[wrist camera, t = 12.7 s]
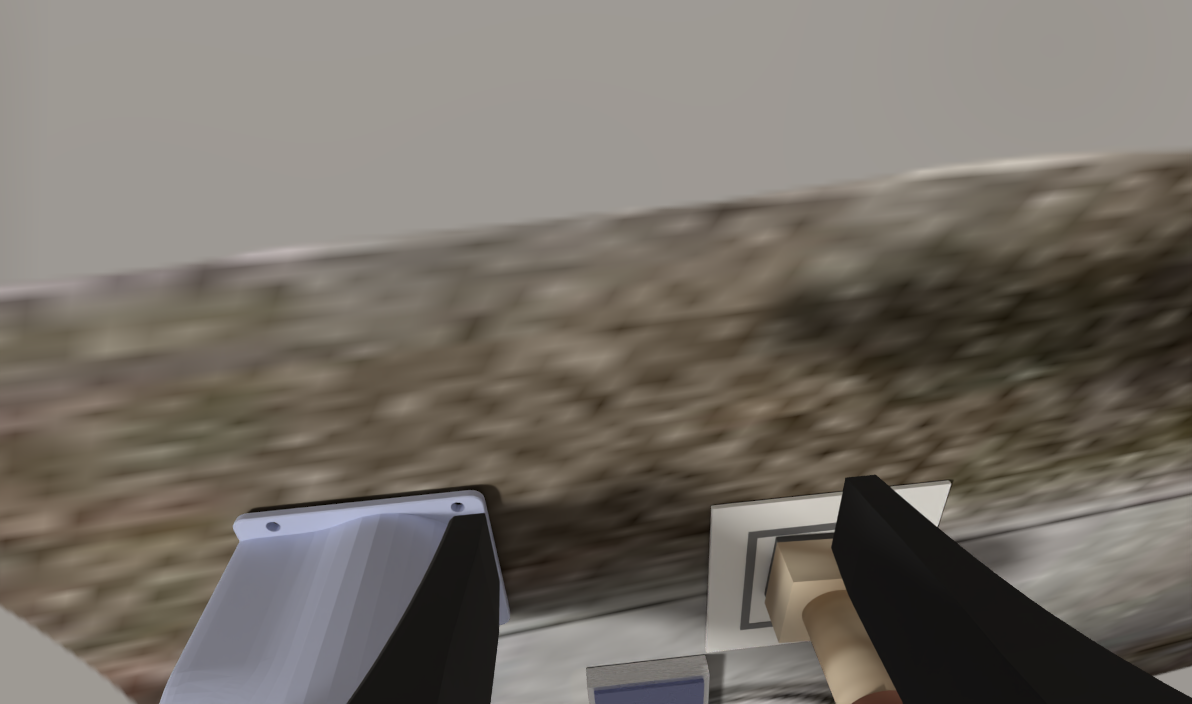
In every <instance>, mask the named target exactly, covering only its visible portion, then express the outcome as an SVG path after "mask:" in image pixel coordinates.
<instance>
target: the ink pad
mask: <svg viewBox="0 0 1192 704" xmlns="http://www.w3.org/2000/svg"><path fill="white" fill-rule="evenodd" d="M586 676H587V689H588V697H589V704H708V698H709V678H710V673H709V669H708V665H707V661H706V657H705V655H700V656H691V657H683V658H674V659H665V660H656V661H647V662H639V663H630V664H621V665H612V666H603V667H594V668H586Z"/></svg>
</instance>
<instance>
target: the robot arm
mask: <svg viewBox="0 0 1192 704" xmlns="http://www.w3.org/2000/svg"><path fill="white" fill-rule="evenodd" d="M456 502H458V503H462V504H461V505H457V504H455V503H456ZM273 522H275V523H278V524H275V523H273ZM233 529H234V531H235V533H236V535H237V537H238V539H239V541H240V542H239V544H238V546H237V548H236V550H235V552H234V554H233V556H232V557H231V559H230V561H229V563H228V565H227V567H226V569H225V571H224V573H223V575H222V577H221V579H220V581H219V583H218V585H217V587H216V588H215V590H214V592H213V594H212V596H211V598H210V600H209V602H208V604H207V606H206V608H205V610H204V612H203V614H202V616H201V617H200V619H199V621H198V623H197V625H196V627H195V629H194V631H193V633H192V635H191V637H190V639H189V641H188V643H187V645H186V646H185V648H184V650H183V652H182V654H181V656H180V658H179V660H178V662H177V664H176V666H175V668H174V670H173V672H172V674H171V676H170V678H169V680H168V682H167V685H166V687H165V689H164V692H163V695H162V698H161V701H160V704H490V702H491V694H492V686H493V678H494V670H495V662H496V654H497V645H498V636H499V625H502V624H505V623H507V622H508V621H509V620H510V608H509V603H508V599H507V595H506V590H505V586H504V581H503V577H502V573H501V568H500V564H499V559H498V555H497V550H496V546H495V542H494V537H493V533H492V528H491V524H490V520H489V515H488V511H487V506H486V502H485V498H484V496H483V494H481V493H480V492H478V491H475V490H465V491H455V492H446V493H436V494H427V495H417V496H408V497H398V498H388V499H379V500H369V501H360V502H350V503H341V504H331V505H322V506H312V507H302V508H293V509H283V510H274V511H264V512H255V513H245V514H242V515H240V516H238V517H237V519H236V521H235V523H234V525H233ZM831 549H832V552H833V554H834V557H835V560H836V563H837V566H838V569H839V572H840V575H841V577H842V580H843V582H844V585H845V588H846V590H847V593H848V596H849V598H850V600H851V602H852V604H853V606H854V608H855V610H856V612H857V614H858V616H859V618H860V620H861V622H862V624H863V626H864V628H865V630H866V632H867V634H868V636H869V638H870V640H871V642H872V644H873V646H874V648H875V650H876V652H877V654H878V656H879V657H880V659H881V661H882V663H883V665H884V667H885V669H886V671H887V673H888V675H889V677H890V679H891V681H892V683H893V685H894V687H895V689H896V691H897V693H898V695H899V697H900V699H901V701H902V703H903V704H1192V698H1191V697H1189V696H1187V695H1185V694H1184V693H1182V692H1180V691H1178V690H1176V689H1174V688H1172V687H1171V686H1169V685H1167V684H1165V683H1163V682H1162V681H1160V680H1158V679H1157V678H1155V677H1153V676H1151V675H1150V674H1148V673H1146V672H1144V671H1143V670H1141V669H1139V668H1138V667H1136V666H1134V665H1132V664H1131V663H1129V662H1127V661H1125V660H1124V659H1122V658H1120V657H1119V656H1117V655H1115V654H1114V653H1112V652H1110V651H1109V650H1107V649H1105V648H1104V647H1102V646H1101V645H1099V644H1097V643H1096V642H1094V641H1092V640H1091V639H1089V638H1088V637H1086V636H1085V635H1083V634H1082V633H1080V632H1079V631H1077V630H1076V629H1074V628H1073V627H1071V626H1069V625H1068V624H1066V623H1065V622H1063V621H1062V620H1060V619H1059V618H1057V617H1056V616H1054V615H1053V614H1051V613H1050V612H1048V611H1047V610H1045V609H1044V608H1042V607H1041V606H1039V605H1038V604H1037V603H1035V602H1034V601H1032V600H1031V599H1029V598H1028V597H1027V596H1025V595H1024V594H1023V593H1021V592H1020V591H1019V590H1017V589H1016V588H1014V587H1013V586H1012V585H1010V584H1009V583H1008V582H1006V581H1005V580H1004V579H1002V578H1001V577H999V576H998V575H997V574H995V573H994V572H993V571H992V570H990V569H989V568H988V567H986V566H985V565H984V564H982V563H981V562H980V561H979V560H977V559H976V558H975V557H974V556H972V555H971V554H970V553H968V552H967V551H966V550H965V549H963V548H962V547H961V546H960V545H959V544H957V543H956V542H955V541H954V540H952V539H951V538H950V537H949V536H947V535H946V534H945V533H944V532H943V531H941V530H940V529H939V528H938V527H937V526H935V525H934V524H933V523H932V522H931V521H930V520H928V519H927V518H926V517H925V516H924V515H922V514H921V513H920V512H919V511H918V510H916V509H915V508H914V507H913V506H912V505H911V504H909V503H908V502H907V501H906V500H905V499H904V498H902V497H901V496H900V495H899V494H898V493H897V492H895V491H894V490H893V489H892V488H891V487H890V486H888V485H887V484H886V483H885V482H884V481H882V480H881V479H880V478H879V477H878V476H876V475H869V476H858V477H848V478H845V483H844V488H843V493H842V498H841V502H840V507H839V512H838V517H837V521H836V526H835V531H834V536H833V541H832V545H831Z"/></svg>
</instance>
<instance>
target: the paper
mask: <svg viewBox="0 0 1192 704" xmlns="http://www.w3.org/2000/svg"><path fill="white" fill-rule="evenodd" d="M950 486H951V483H950V481H949V480H947V481H937V482H928V483H919V484H909V485H900V486H890V487H891V488H892V489H893V490H894V491H895V492H897V493H898V494H899V495H900V496H901V497H902V498H904V499H905V500H906V501H907V502H908V503H909V504H911V505H912V506H913V507H914V508H915V509H916V510H918V511H919V512H920V513H921V514H922V515H924V516H925V517H926V518H927V519H928V520H930V521H931V522H932V523H933V524H934V525H935V526H937V527H938V524H939V521H940V518H941V515H942V511H943V508H944V505H945V502H946V499H947V496H948V493H949V489H950ZM842 493H843V492H834V493H825V494H815V495H806V496H797V497H787V498H778V499H768V500H759V501H750V502H740V503H731V504H722V505H712V506H711V523H710V547H709V572H708V596H707V621H706V645H705V650H706V653H709V652H718V651H727V650H736V649H744V648H753V647H762V646H771V645H780V644H789V643H797V642H787V643H778V640H777V637H776V634H775V631H774V628H773V626H772V623H771V620H770V617H769V614H768V611H767V608H766V606H765V598H766V597H765V594H764V593H765V588H766V583H767V578H768V573H769V568H770V564H771V559H772V554H773V549H774V544H775V539H776V537H778V536H793V535H808V534H822V533H834V531H835V526H836V521H837V517H838V512H839V507H840V502H841V498H842ZM800 642H806V641H800Z"/></svg>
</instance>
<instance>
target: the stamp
mask: <svg viewBox="0 0 1192 704" xmlns="http://www.w3.org/2000/svg"><path fill="white" fill-rule="evenodd" d="M833 536H834V533H822V534H808V535H793V536H778V537H776V539H775V544H774V549H773V554H772V559H771V564H770V568H769V573H768V578H767V583H766V588H765V593H764V594H765V597H766V598H765V606H766V608H767V611H768V614H769V617H770V620H771V623H772V626H773V628H774V631H775V634H776V637H777V640H778V643H787V642H800V641H811V642H812V645H813V647H814V650H815V652H816V655H817V657H818V660H819V662H820V665H821V667H822V670H823V672H824V675H825V677H826V680H827V682H828V685H829V687H830V690H831V692H832V695H833V697H834V700H835V702H836V704H903V703H902V701H901V699H900V697H899V695H898V693H897V691H896V689H895V687H894V685H893V683H892V681H891V679H890V677H889V675H888V673H887V671H886V669H885V667H884V665H883V663H882V661H881V659H880V657H879V656H878V654H877V652H876V650H875V648H874V646H873V644H872V642H871V640H870V638H869V636H868V634H867V632H866V630H865V628H864V626H863V624H862V622H861V620H860V618H859V616H858V614H857V612H856V610H855V608H854V606H853V604H852V602H851V600H850V598H849V596H848V593H847V590H846V588H845V585H844V582H843V580H842V577H841V575H840V572H839V569H838V566H837V563H836V560H835V557H834V554H833V552H832V549H831V545H832V541H833Z"/></svg>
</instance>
